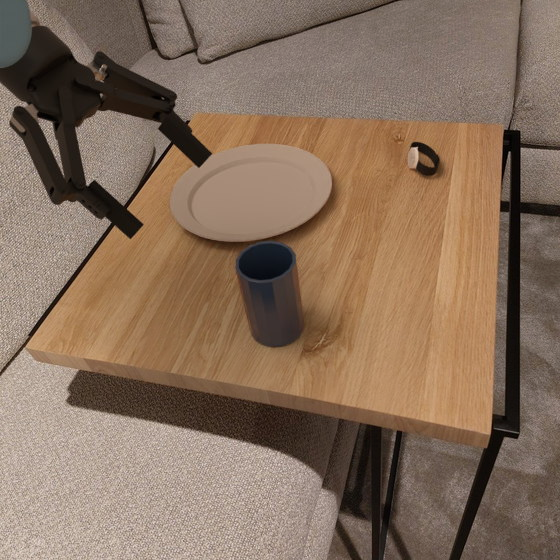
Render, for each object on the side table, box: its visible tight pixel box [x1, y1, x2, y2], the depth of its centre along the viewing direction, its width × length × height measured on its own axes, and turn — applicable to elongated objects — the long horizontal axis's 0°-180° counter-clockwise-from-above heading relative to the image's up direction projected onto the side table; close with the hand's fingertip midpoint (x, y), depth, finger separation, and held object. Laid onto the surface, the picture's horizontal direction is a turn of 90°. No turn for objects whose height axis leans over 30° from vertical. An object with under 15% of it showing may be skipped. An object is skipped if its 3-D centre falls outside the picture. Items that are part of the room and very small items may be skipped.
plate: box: [169, 143, 333, 243], centre depth 92 cm, size 26×26×2 cm
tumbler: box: [234, 240, 306, 348], centre depth 69 cm, size 7×7×11 cm
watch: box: [407, 141, 441, 177], centre depth 92 cm, size 8×5×4 cm, turn 7°
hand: (173, 194), depth 65 cm, fingers open, 13 cm apart
